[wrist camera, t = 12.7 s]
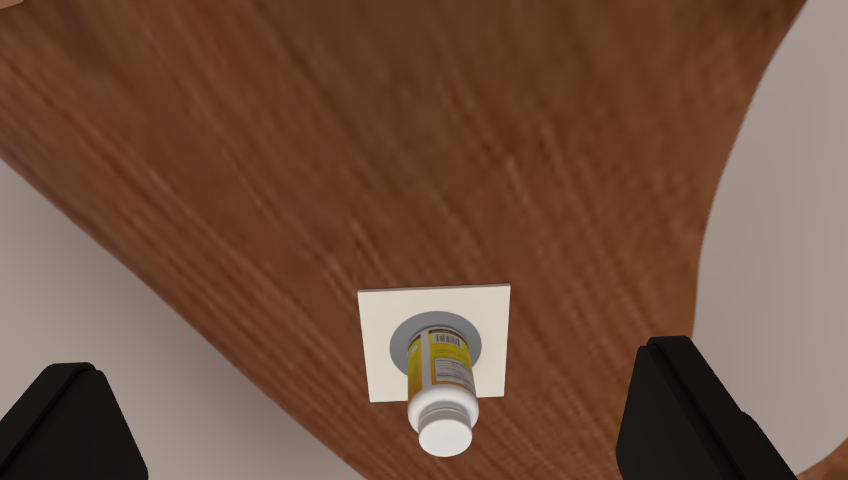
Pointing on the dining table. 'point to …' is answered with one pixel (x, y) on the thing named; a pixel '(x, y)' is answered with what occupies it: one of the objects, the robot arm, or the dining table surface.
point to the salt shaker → (9, 3)
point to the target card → (433, 307)
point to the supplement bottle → (441, 391)
